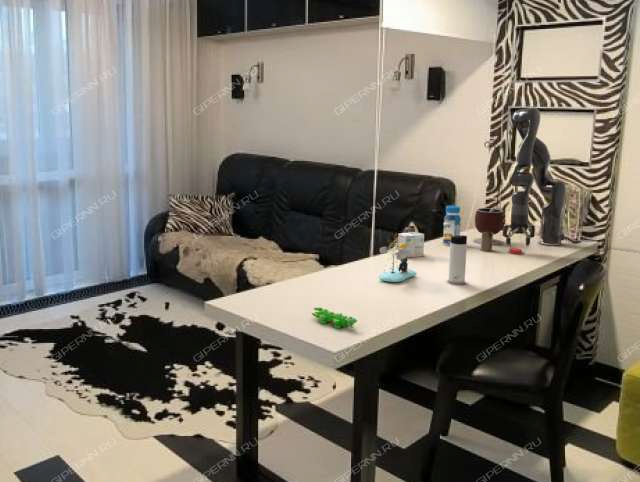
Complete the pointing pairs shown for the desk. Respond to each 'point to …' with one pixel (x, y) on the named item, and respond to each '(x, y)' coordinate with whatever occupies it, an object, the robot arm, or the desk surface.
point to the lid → (515, 251)
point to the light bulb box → (412, 243)
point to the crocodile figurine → (333, 318)
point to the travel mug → (457, 259)
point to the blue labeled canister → (451, 223)
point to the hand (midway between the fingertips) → (517, 245)
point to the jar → (487, 241)
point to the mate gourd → (489, 221)
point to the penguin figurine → (402, 270)
